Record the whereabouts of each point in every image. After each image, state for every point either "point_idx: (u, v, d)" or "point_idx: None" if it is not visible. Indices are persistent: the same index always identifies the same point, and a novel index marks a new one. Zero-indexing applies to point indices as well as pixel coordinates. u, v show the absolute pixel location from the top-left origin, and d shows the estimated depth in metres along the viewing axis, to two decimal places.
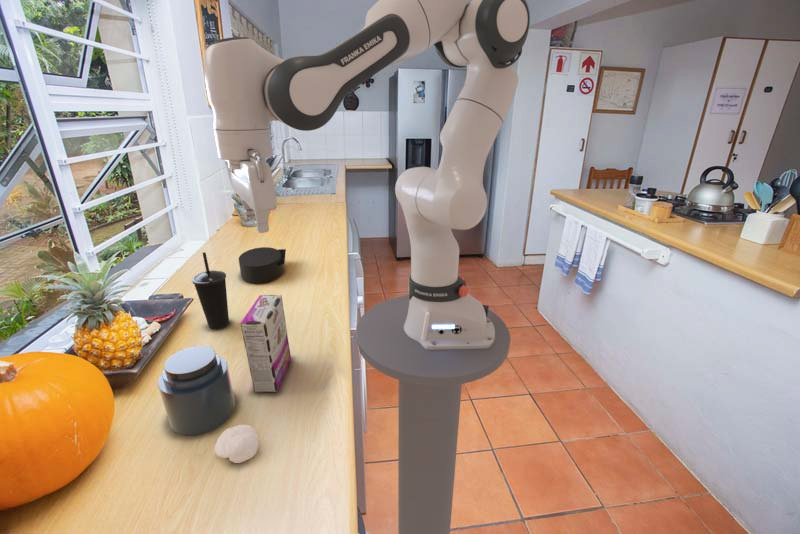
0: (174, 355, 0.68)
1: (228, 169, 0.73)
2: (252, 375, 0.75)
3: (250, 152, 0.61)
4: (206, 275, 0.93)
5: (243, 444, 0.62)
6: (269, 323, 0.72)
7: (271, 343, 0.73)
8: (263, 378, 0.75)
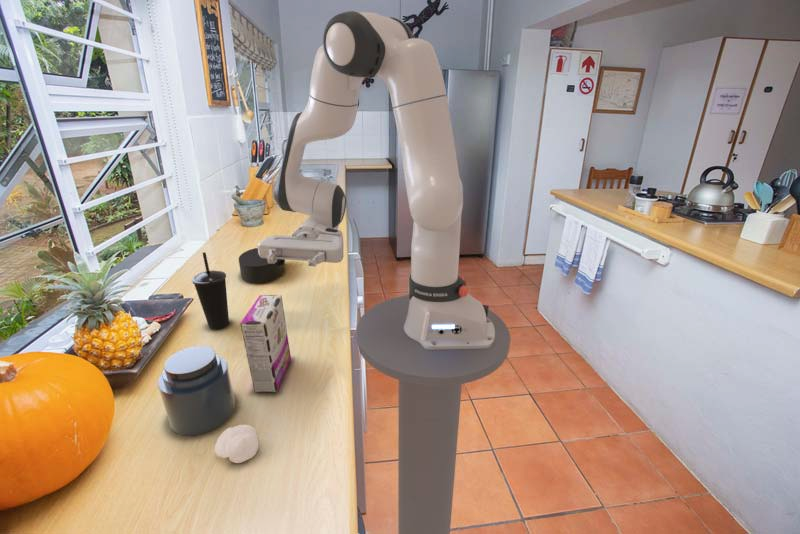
0: (174, 355, 0.68)
1: None
2: (252, 375, 0.75)
3: None
4: (206, 275, 0.93)
5: (243, 444, 0.62)
6: (269, 323, 0.72)
7: (271, 343, 0.73)
8: (263, 378, 0.75)
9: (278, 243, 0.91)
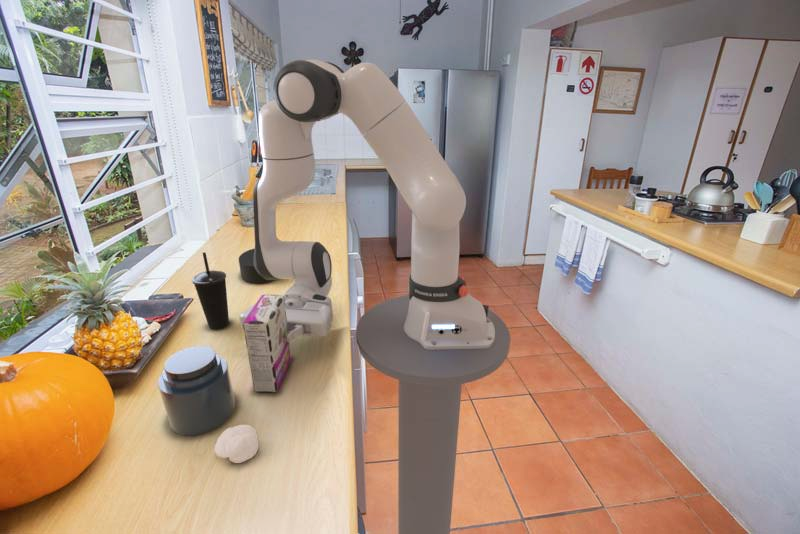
0: (174, 355, 0.68)
1: None
2: (253, 374, 0.75)
3: None
4: (206, 275, 0.93)
5: (243, 444, 0.62)
6: (271, 323, 0.72)
7: (273, 343, 0.73)
8: (263, 377, 0.75)
9: None
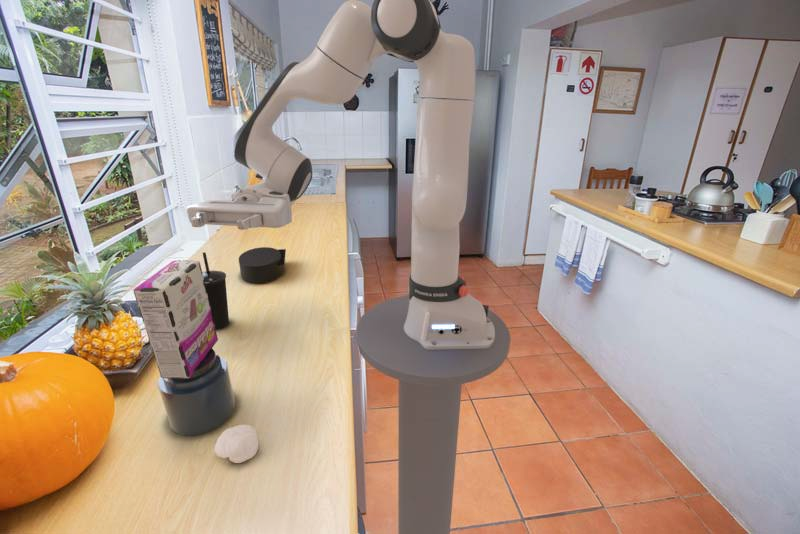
0: None
1: None
2: (156, 357, 0.60)
3: None
4: (206, 275, 0.93)
5: (243, 444, 0.62)
6: (172, 291, 0.58)
7: (177, 317, 0.59)
8: (170, 360, 0.61)
9: (210, 206, 0.78)
